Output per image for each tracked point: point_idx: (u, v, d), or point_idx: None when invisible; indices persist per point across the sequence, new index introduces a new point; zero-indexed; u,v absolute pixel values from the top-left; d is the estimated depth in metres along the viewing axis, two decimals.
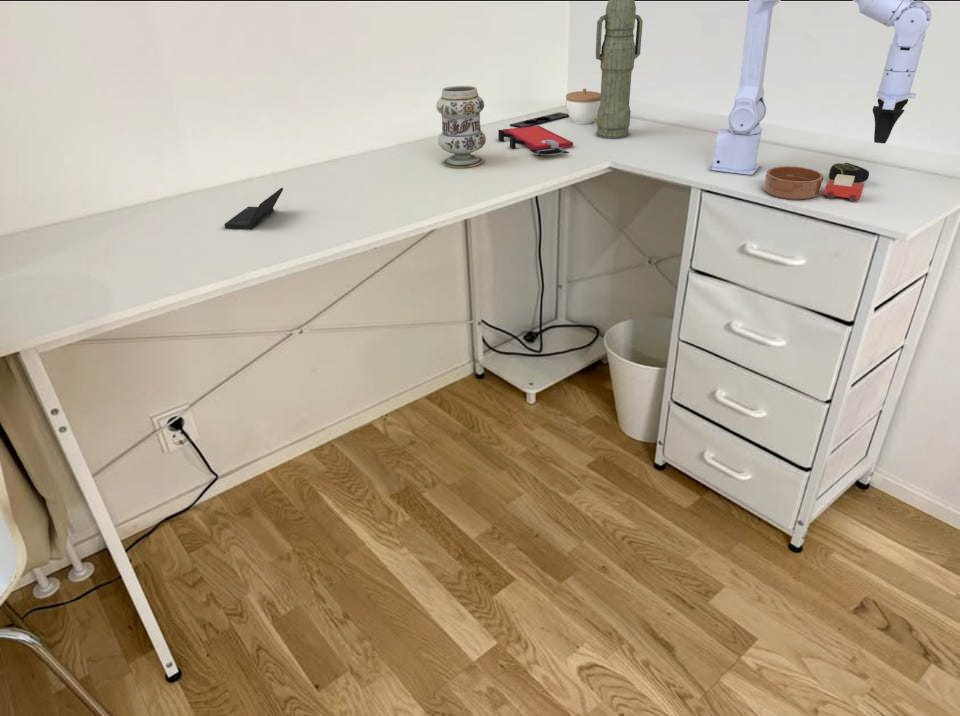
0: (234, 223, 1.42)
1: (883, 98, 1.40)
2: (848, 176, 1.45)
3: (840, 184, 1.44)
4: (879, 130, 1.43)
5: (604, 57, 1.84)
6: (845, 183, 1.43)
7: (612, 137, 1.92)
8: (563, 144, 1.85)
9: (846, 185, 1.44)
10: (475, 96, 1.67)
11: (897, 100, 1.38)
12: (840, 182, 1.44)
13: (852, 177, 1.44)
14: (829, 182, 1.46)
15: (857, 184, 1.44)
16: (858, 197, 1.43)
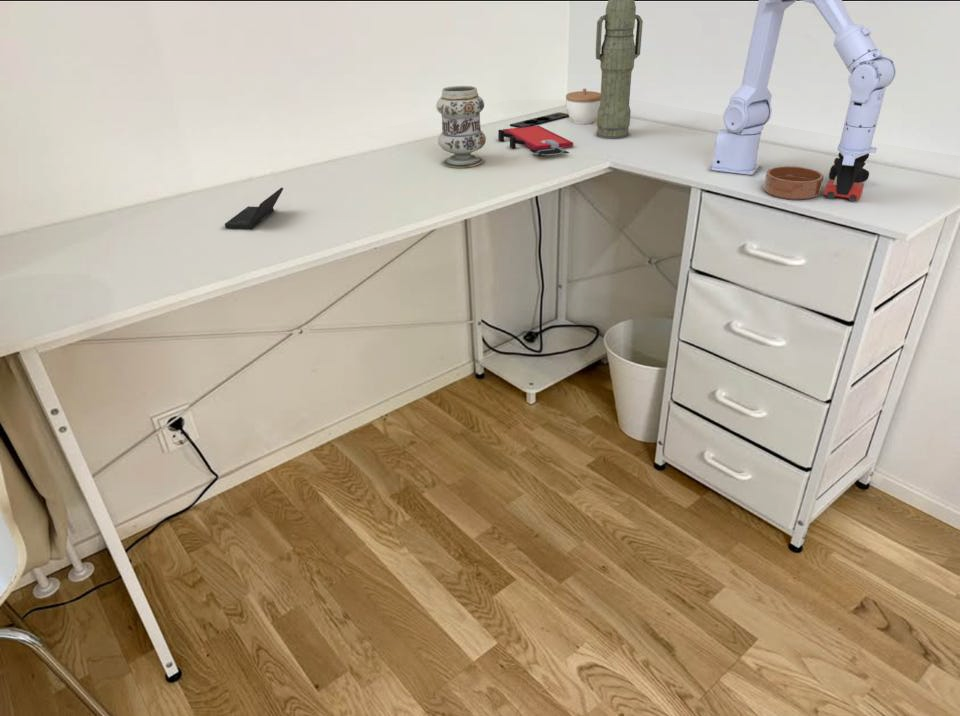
0: (235, 223, 1.42)
1: (843, 153, 1.38)
2: None
3: None
4: (841, 182, 1.43)
5: (604, 57, 1.84)
6: None
7: (612, 137, 1.92)
8: (563, 144, 1.85)
9: None
10: (475, 96, 1.67)
11: (857, 156, 1.36)
12: None
13: None
14: (829, 182, 1.46)
15: (857, 184, 1.44)
16: (858, 197, 1.43)
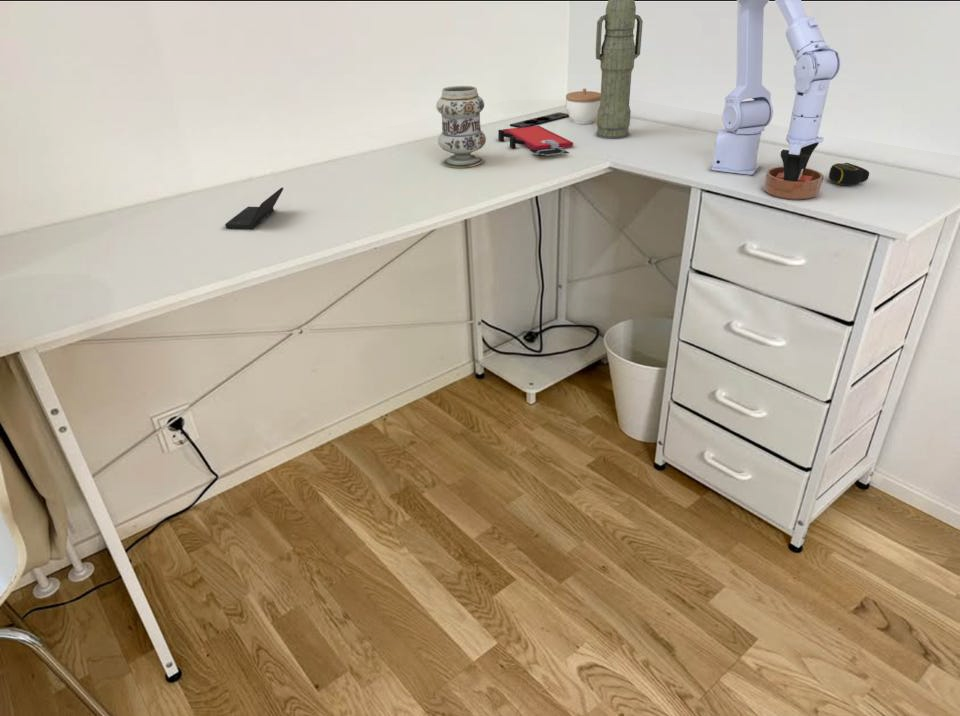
0: (235, 223, 1.42)
1: (790, 143, 1.41)
2: None
3: None
4: (788, 173, 1.45)
5: (604, 57, 1.84)
6: None
7: (612, 137, 1.92)
8: (563, 144, 1.85)
9: None
10: (475, 96, 1.67)
11: (803, 145, 1.40)
12: None
13: None
14: (778, 175, 1.50)
15: (805, 177, 1.48)
16: None
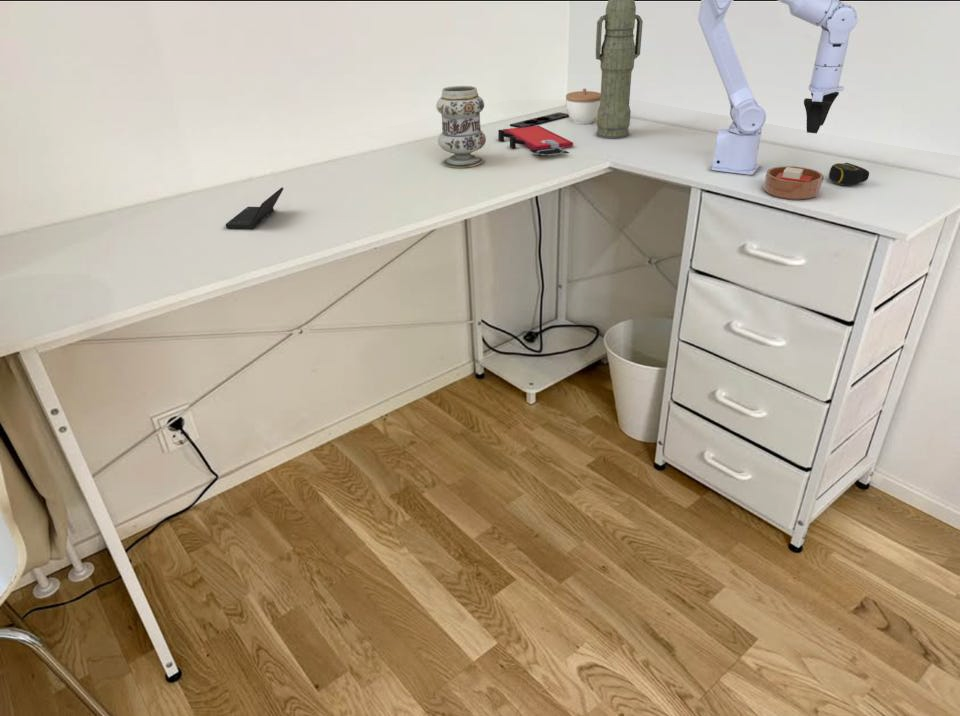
0: (236, 223, 1.42)
1: (813, 91, 1.51)
2: (797, 169, 1.48)
3: (789, 177, 1.48)
4: (811, 121, 1.54)
5: (604, 57, 1.84)
6: (793, 176, 1.47)
7: (612, 137, 1.92)
8: (563, 144, 1.85)
9: (794, 178, 1.47)
10: (475, 96, 1.67)
11: (825, 93, 1.49)
12: (788, 175, 1.47)
13: (800, 170, 1.48)
14: (778, 175, 1.50)
15: (805, 177, 1.48)
16: None
